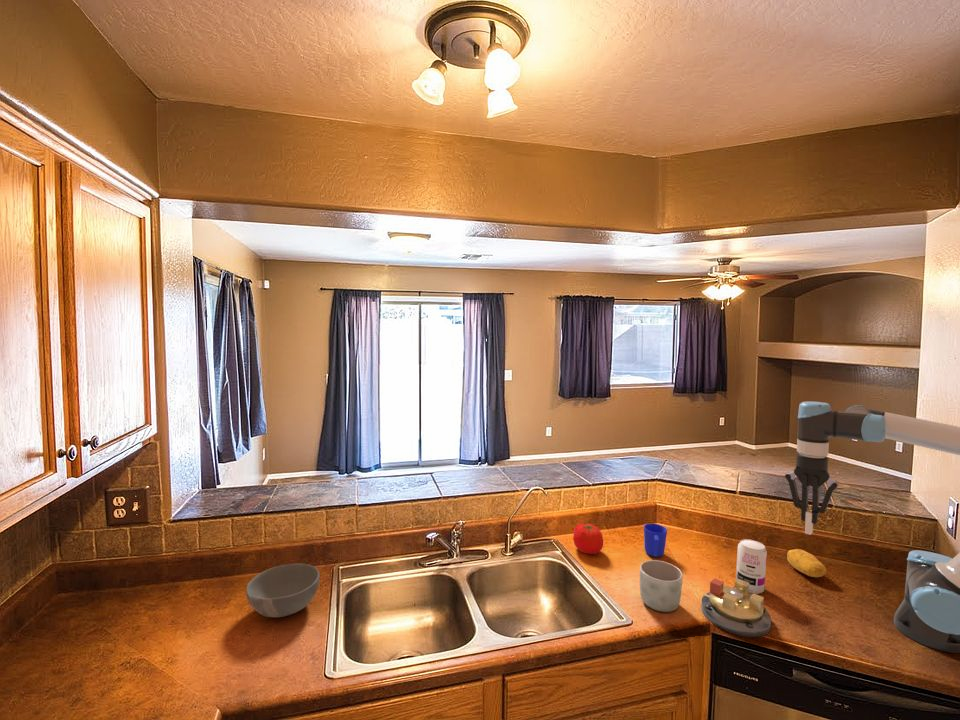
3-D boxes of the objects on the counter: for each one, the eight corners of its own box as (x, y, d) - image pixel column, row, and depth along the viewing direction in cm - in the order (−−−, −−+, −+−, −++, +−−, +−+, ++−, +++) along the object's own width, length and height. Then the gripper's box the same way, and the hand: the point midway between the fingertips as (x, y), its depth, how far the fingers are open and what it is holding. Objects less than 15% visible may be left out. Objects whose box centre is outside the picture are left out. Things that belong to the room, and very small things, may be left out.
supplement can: (756, 581, 155) (759, 539, 153) (769, 596, 146) (772, 551, 145) (731, 579, 155) (733, 537, 154) (742, 594, 147) (745, 549, 146)
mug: (643, 562, 166) (645, 535, 166) (642, 546, 178) (643, 522, 177) (668, 565, 164) (669, 539, 163) (664, 550, 176) (665, 525, 175)
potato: (801, 562, 167) (802, 544, 167) (831, 583, 154) (832, 564, 153) (780, 562, 167) (781, 544, 167) (808, 584, 154) (810, 564, 153)
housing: (778, 617, 135) (780, 593, 135) (759, 646, 123) (760, 620, 123) (714, 591, 149) (715, 569, 148) (691, 614, 136) (692, 590, 136)
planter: (687, 604, 141) (689, 571, 141) (670, 622, 133) (671, 586, 132) (650, 587, 150) (651, 555, 150) (631, 602, 142) (632, 569, 141)
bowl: (333, 596, 143) (333, 566, 143) (289, 639, 124) (288, 604, 123) (280, 585, 149) (279, 556, 148) (230, 624, 130) (229, 591, 129)
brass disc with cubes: (718, 588, 146) (719, 571, 145) (768, 608, 136) (769, 590, 135) (702, 607, 136) (703, 588, 135) (754, 630, 126) (756, 610, 125)
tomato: (584, 540, 182) (585, 516, 182) (610, 554, 172) (611, 528, 171) (564, 548, 176) (565, 522, 175) (589, 562, 166) (590, 535, 165)
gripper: (842, 456, 131) (838, 535, 133) (788, 448, 141) (785, 522, 142) (838, 461, 126) (834, 544, 128) (782, 452, 135) (779, 529, 137)
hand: (808, 532), depth 135 cm, fingers closed
